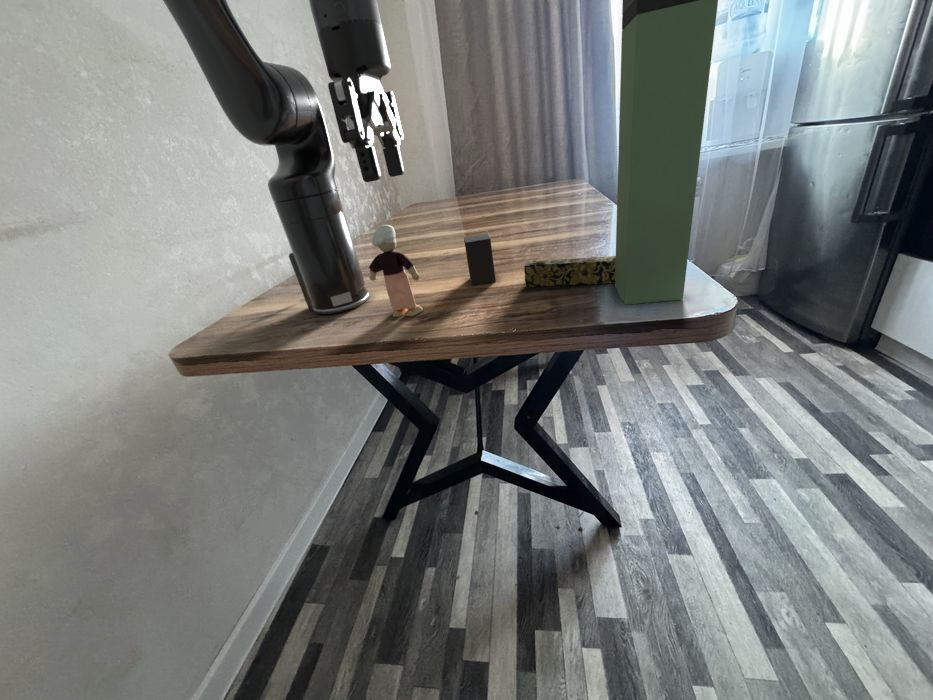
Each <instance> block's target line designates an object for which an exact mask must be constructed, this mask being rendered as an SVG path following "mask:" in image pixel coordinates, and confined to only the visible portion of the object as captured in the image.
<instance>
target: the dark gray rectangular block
mask: <svg viewBox="0 0 933 700" xmlns="http://www.w3.org/2000/svg"><path fill="white" fill-rule="evenodd" d="M463 242H464V249H465V255H466V262H467V268H468V274H469V279H470V285H471V286H473V287H474V286H477V285H484V284H491V283H496V282H497V280H496V271H495V263H494V256H493V247H492V240H491V237H490V235H489V233H481V234H476V235H470V236H465V237H463Z"/></svg>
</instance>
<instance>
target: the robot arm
mask: <svg viewBox="0 0 933 700" xmlns="http://www.w3.org/2000/svg"><path fill="white" fill-rule="evenodd" d="M162 1H163V3H164V5H165V6H166V8H167V10H168V12H169V14H170V15H171V16H172V18H173V20H174V21H175V23H176V25H177V26H178V28H179V30H180V31H181V34H182V35H183V37H184V39H185V40H186V42H187V45H188V47H189V48H190V51H191V52H192V54H193V56H194V58H195V60H196V62H197V63H198V65H199V68H200V69H201V72H202V74H203V75H204V77H205V79H206V81H207V83H208V85H209V87H210V88H211V91H212V92H213V95H214V96H215V99H216V100H217V103H218V104H219V105H220V108H221V109H222V111H223V113H224V114H225V116H226V118H227V119H228V121H229V122H230V123H231V125H232V126H233V128H234V129H236V131H237V132H238V133H239V134H240V135H241V136H242V137H243V138H245V139H246V140H247V141H248V142H251V143H252V144H256V145H258V146H263V147H264V146H265V147H270V146H271V147H272V146H273V147H275V151H276V155H277V158H278V159H277V160H278V165H277V169H276V170H275V172H274V174H273V175H271V177H270V178H269V179H268V181H267V188H268V191H269V194H270V197H271V199H272V202H273V204H274V207H275V211H276V213H277V215H278V218H279V221H280V224H281V226H282V228H283V231H284V234H285V236H286V240H287V242H288V245H289V247H290V249H291V252H289V254H288V258H289V261H290V263H291V267H292V269H293V272H294V274H295V277H296V280H297V282H298V285H299V287H300V291H301V293H302V294H303V297H304V300H305V303H306V305H307V309H308V311H311V312H314V313H315V314H318V315H333V314H339V313H342V312H346V311H349V310H352V309H354V308H357V307H359V306H361V305H363V304H364V303H366V302H367V301H368V300H369V298H370V293H369V290H368V288H367V284H366V281H365V278H364V274H363V271H362V268H361V264H360V262H359V261H360V260H359V258H358V254H357V251H356V247H355V245H354V244H355V243H354V241H353V237H352V234H351V231H350V227H349V224H348V221H347V218H346V214H345V210H344V207H343V204H342V201H341V197H340V195H339V190H338V187H337V183H336V178H335V174H336V161H335V156H334V152H333V148H332V143H331V140H330V136H329V135H330V134H329V131H328V127H327V124H326V119H325V115H324V111H323V109H322V105H321V102H320V100H319V97H318V94H317V93H316V90H315V88H314V87H313V85H312V83H311V82H310V81H309V79H308V78H307V77H306V76H305V75H304V74H303V73H302V72H301V71H299V70H298V69H296V68H294V67H291V66H288V65H284V64H278V63H273V62H267V61H263V60H262V59H261V57H260V56H259V55H258V53H257V52H256V51H255V49H254V48H253V46H252V45H251V42H250V41H249V40H248V38H247V37H246V35H245V33H244V31H243V30H242V28H241V27H240V25H239V23H238V20H237V19H236V18H235V16H234V13H233V12H232V10H231V8H230V5H229V4H228V1H227V0H162ZM308 1H309V2H308V3H309V8H310V11H311V15H312V18H313V23H314V27H315V30H316V33H317V37H318V41H319V44H320V48H321V52H322V55H323V59H324V63H325V67H326V70H327V74H328V77H329V79H330V80H331V81H330V82H328V84H327V88H328V91H329V95H330V96H329V97H330V100H331V104H332V107H333V112H334V115H335V116H334V117H335V119H336V123H337V127H338V131H339V135H340V139H341V141H342V143H343V144H348V143H349V145H350V147H351V149H353V150H354V151H355V155H356V159H357V161H358V166H359V170H360V173H361V177H362V180H363V181H364V182H365V183H370V182H377V181H379V180H381V178H382V174H381V169H380V165H379V162H378V157H377V153H376V149H375V146H373V143H374V136H376V137H377V139H378V141H379V143H380V145H381V146H382V152H383V156H384V161H385V165H386V168H387V174H388V176H389V177H391V178H394V177H399V176H403V175H404V174H405V168H404V167H405V166H404V164H403V159H402V154H401V150H400V149H401V148H400V145H401V141H404V139H405V138H404V132H403V129H402V124H401V120H400V115H399V111H398V106H397V103H396V98H395V94H394V92H393V90H388V91H384V87H383V84H382V82H381V80H382V78H383V77H385V76H386V75H388V74H389V73H390V72H391V68H392V67H391V62H390V61H391V60H390V56H389V51H388V48H387V42H386V38H385V34H384V27H383V23H382V19H381V14H380V9H379V5H378V4H379V3H378V0H308Z"/></svg>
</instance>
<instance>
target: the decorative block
mask: <svg viewBox="0 0 933 700" xmlns="http://www.w3.org/2000/svg"><path fill="white" fill-rule="evenodd" d="M615 263H616V255H608V256H596V257H594V256H591V257H579V258H561V259H546V260H544V259H543V260H529V261H526V262H525V264H524V266H523V267H524V269H523V272H524V283H525V286H526V287H529V288H531V287H532V288H535V287H541V288H542V287H544V286H545V287H554V286H556V287H557V286H565V287H566V286H575V285H588V286H589V285H592V284H595V285H605V284H610V285H611V284H615Z"/></svg>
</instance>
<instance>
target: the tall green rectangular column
mask: <svg viewBox="0 0 933 700" xmlns="http://www.w3.org/2000/svg"><path fill="white" fill-rule="evenodd" d="M718 5H719V0H622V7H621V9H622V10H621V12H622V13H621V15H622V17H621V45H620V47H621V51H620V82H619V83H620V84H619V85H620V86H619V87H620V88H619V117H618V118H619V120H618V121H619V123H618V156H617V157H618V158H617V160H618V161H617V189H616V192H617V195H616V200H617V201H616V228H615V230H616V231H615V233H616V234H615V256H616V263H615V283H614V287H615V289H616V291H617V292H618V295H619V296H620V298H621V300H622V303H623V304H624V305H635V304H647V303H648V304H649V303H658V302H659V303H661V302H671V301H672V302H673V301H681V300H684V294H685V285H686V277H687V270H688V269H687V267H688V259H689V252H690V251H689V250H690V241H691V235H692V234H691V233H692V226H693V216H694V208H695V200H696V191H697V182H698V176H699V167H700V158H701V148H702V142H703V141H702V140H703V131H704V124H705V115H706V107H707V100H708V99H707V98H708V89H709V81H710V73H711V66H712V58H713V57H712V56H713V48H714V47H713V46H714V41H715V40H714V39H715V31H716V22H717V13H718Z"/></svg>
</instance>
